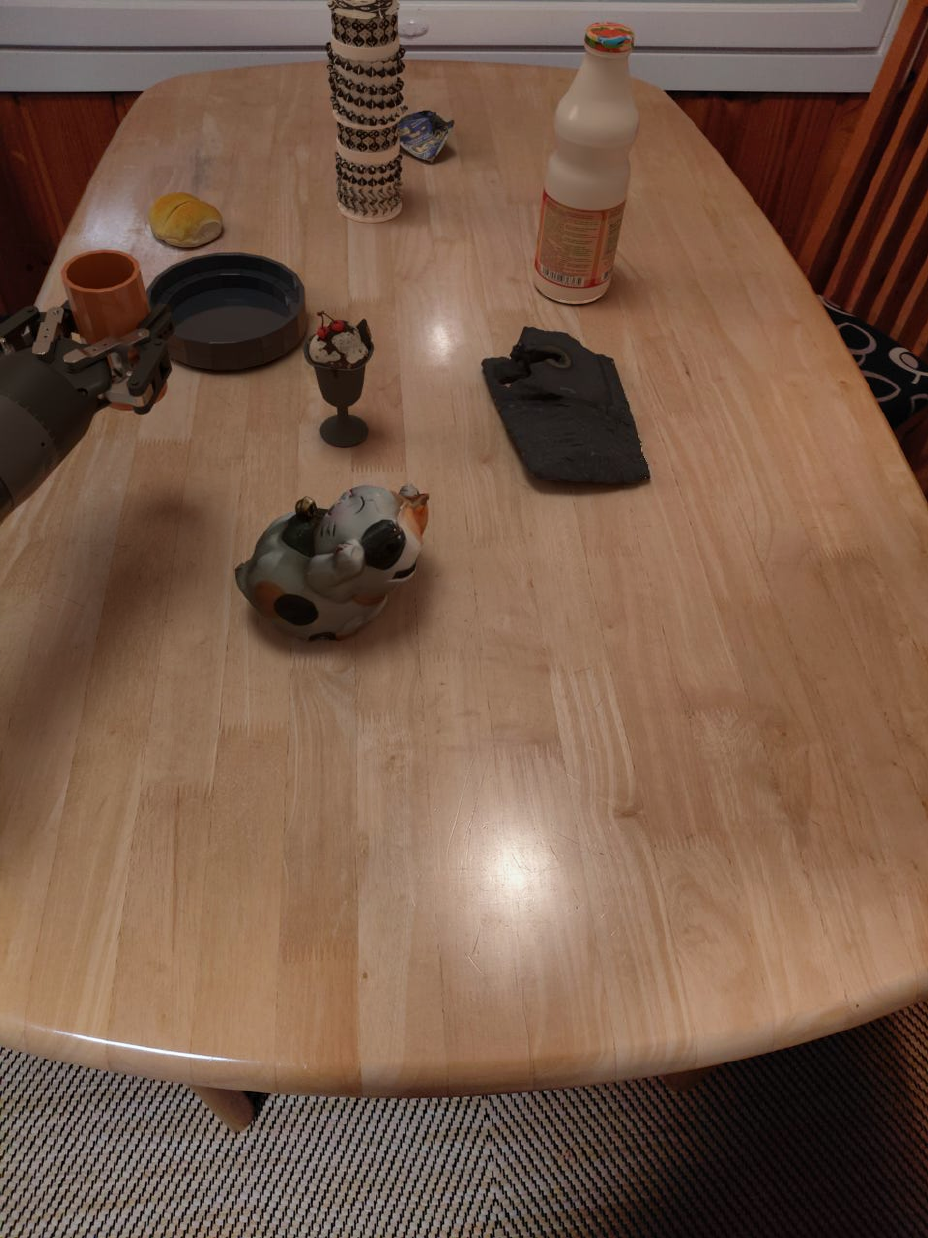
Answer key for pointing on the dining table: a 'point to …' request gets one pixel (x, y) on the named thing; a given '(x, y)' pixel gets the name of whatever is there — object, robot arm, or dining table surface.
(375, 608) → the lucky cat figurine
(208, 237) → the bread roll
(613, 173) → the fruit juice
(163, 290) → the bowl
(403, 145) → the snack package
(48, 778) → the dining table surface
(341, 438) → the sundae
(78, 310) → the tumbler
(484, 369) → the dark slate chunk
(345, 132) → the cream patterned cylinder
